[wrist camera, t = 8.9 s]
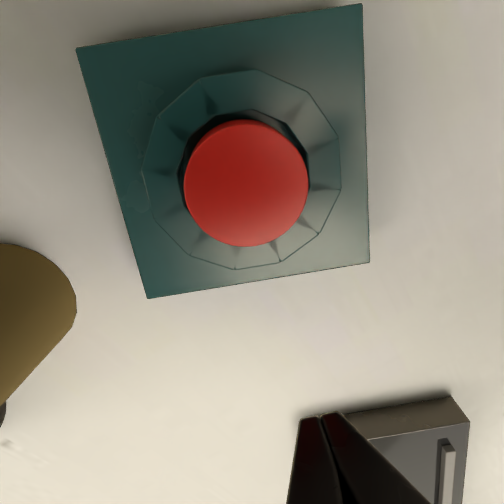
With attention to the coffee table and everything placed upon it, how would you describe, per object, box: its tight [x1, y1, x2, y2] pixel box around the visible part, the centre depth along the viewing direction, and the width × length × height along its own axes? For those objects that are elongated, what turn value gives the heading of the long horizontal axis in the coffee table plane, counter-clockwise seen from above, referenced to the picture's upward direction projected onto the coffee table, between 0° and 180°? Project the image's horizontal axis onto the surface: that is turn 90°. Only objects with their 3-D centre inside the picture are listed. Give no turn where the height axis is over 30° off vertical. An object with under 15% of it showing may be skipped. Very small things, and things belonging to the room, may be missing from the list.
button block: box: [75, 3, 370, 299], centre depth 16 cm, size 10×10×4 cm
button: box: [184, 119, 308, 247], centre depth 14 cm, size 4×4×2 cm
